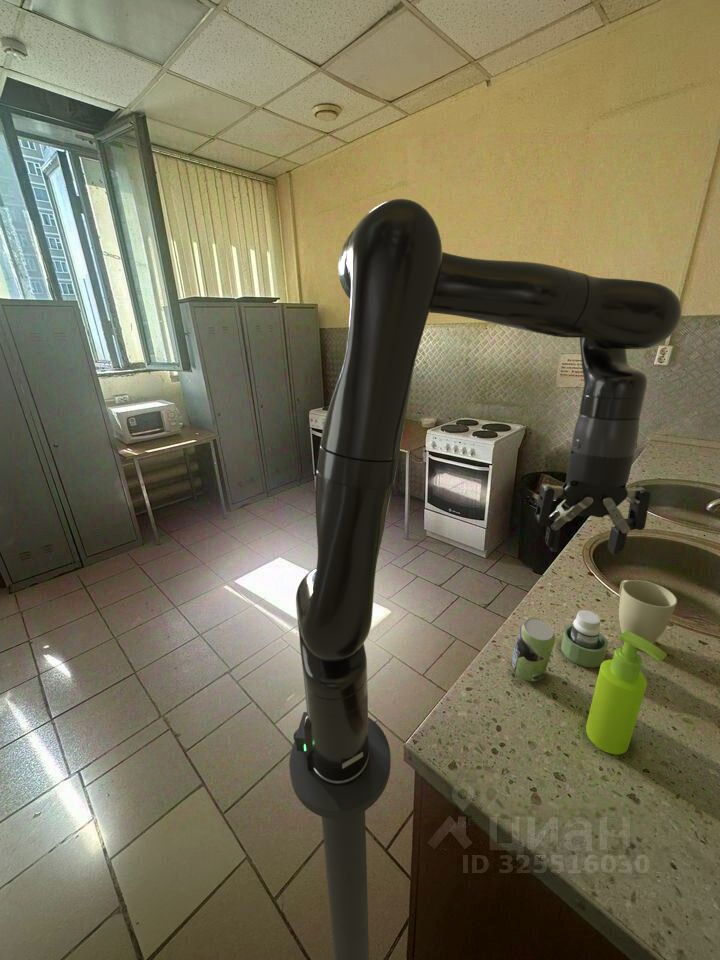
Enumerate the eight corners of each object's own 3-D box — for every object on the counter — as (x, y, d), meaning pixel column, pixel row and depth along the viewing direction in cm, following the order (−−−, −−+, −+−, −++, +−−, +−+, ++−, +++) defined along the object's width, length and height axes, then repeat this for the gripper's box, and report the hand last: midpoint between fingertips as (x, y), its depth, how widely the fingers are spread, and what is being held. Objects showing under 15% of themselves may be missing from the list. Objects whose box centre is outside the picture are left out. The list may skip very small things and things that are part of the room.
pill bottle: (570, 638, 83) (576, 605, 80) (595, 647, 80) (603, 613, 78) (566, 652, 79) (573, 618, 76) (593, 662, 77) (601, 628, 74)
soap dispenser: (623, 768, 59) (654, 664, 52) (578, 731, 64) (601, 633, 57) (642, 747, 62) (675, 646, 55) (598, 713, 67) (622, 618, 60)
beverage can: (532, 657, 79) (540, 608, 75) (555, 687, 72) (565, 635, 68) (503, 661, 78) (509, 612, 74) (523, 692, 71) (532, 640, 67)
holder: (568, 665, 77) (571, 649, 76) (556, 637, 84) (559, 622, 83) (610, 669, 76) (614, 653, 74) (594, 641, 83) (598, 625, 81)
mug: (671, 642, 82) (686, 594, 78) (651, 664, 77) (666, 613, 73) (615, 614, 91) (626, 569, 86) (593, 632, 85) (603, 585, 81)
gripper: (644, 441, 57) (621, 541, 62) (540, 440, 59) (526, 536, 64) (675, 456, 50) (646, 567, 55) (555, 454, 52) (539, 560, 57)
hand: (581, 550), depth 60 cm, fingers open, 8 cm apart
